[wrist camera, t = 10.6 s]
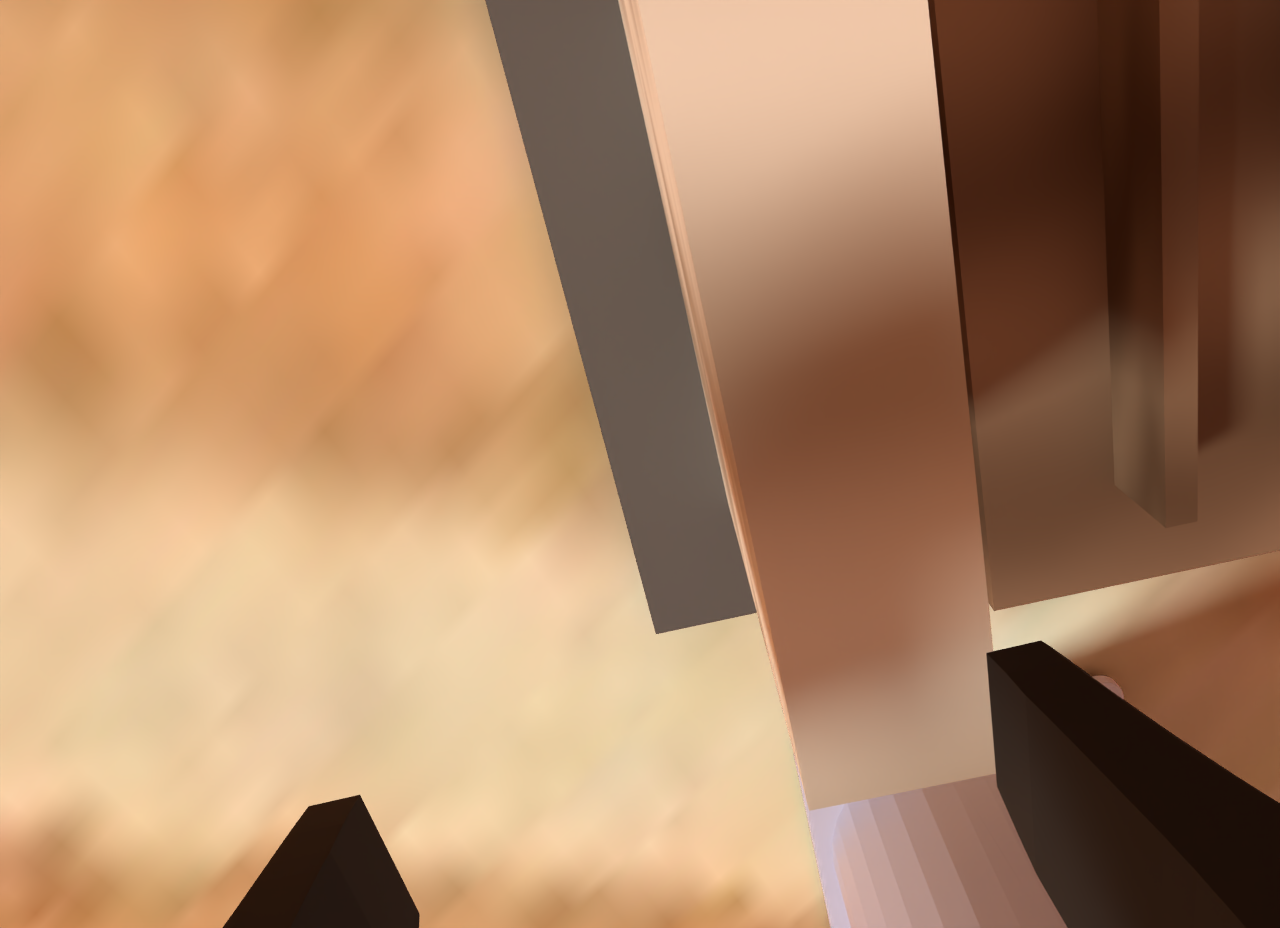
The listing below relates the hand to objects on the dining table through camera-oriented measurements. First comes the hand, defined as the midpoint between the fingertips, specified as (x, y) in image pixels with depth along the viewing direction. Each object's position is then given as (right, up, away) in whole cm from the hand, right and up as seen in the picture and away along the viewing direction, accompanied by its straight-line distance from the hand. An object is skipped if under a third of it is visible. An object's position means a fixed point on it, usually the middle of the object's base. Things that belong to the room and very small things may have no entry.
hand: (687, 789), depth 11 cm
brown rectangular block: (+1, +8, +8) cm, 11 cm away
